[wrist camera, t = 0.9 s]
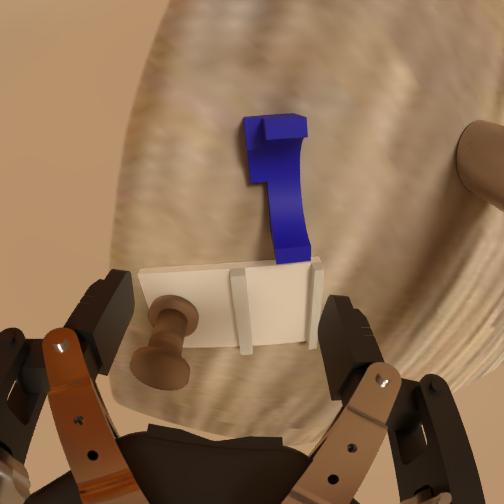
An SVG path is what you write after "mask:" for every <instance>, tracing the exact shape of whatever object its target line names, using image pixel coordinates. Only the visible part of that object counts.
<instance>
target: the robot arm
mask: <svg viewBox="0 0 504 504" xmlns="http://www.w3.org/2000/svg"><path fill="white" fill-rule="evenodd" d="M457 169H458V173H459V177H460V179H461V181H462V183H463V184H464V186H465V187H466V188H467V189H469V190H470V191H471V192H473V193H475V194H476V195H478V196H480V197H481V198H483V199H484V200H486V201H487V202H489V203H490V204H492V205H493V206H495V207H496V208H498V209H499V210H501V211H502V212H504V126H502V125H498V124H495V123H491V122H487V121H483V120H480V121H475V122H473V123H472V124H470V125H469V126H468V127H467V128H466V130H465V131H464V132H463V134H462V136H461V138H460V142H459V145H458V150H457ZM134 305H135V302H134V294H133V286H132V277H131V273H130V272H129V271H124V270H117V269H112V270H111V271H110V272H109V274H108V275H107V276H106V278H105V280H101V279H99V280H98V281H96V282H95V283H93V284H92V285H91V286H90V287H89V289H88V290H87V291H86V293H85V294H84V296H83V297H82V299H81V300H80V303H78V305H77V306H76V308H75V309H74V311H73V313H72V314H71V316H70V317H69V319H68V321H67V322H66V324H65V325H64V327H62V328H56V329H53V330H51V331H50V332H49V333H47V334H46V336H45V337H44V339H26V338H25V336H24V334H23V332H22V331H21V330H19V329H17V328H8V329H5V330H3V331H2V332H0V504H360V503H359V502H357V501H356V500H355V499H354V498H353V497H354V495H355V494H356V492H357V490H358V488H359V487H360V485H361V483H362V481H363V480H364V478H365V476H366V474H367V472H368V470H369V468H370V466H371V465H372V463H373V460H374V459H375V457H376V455H377V452H378V450H379V448H380V446H381V444H382V442H383V440H384V437H385V435H386V433H387V431H388V436H389V441H390V445H391V450H392V455H393V461H394V466H395V471H396V478H397V483H398V490H399V496H400V504H485V499H484V495H483V490H482V486H481V482H480V478H479V474H478V470H477V467H476V463H475V460H474V456H473V453H472V450H471V447H470V444H469V440H468V437H467V434H466V431H465V428H464V426H463V423H462V420H461V417H460V415H459V412H458V409H457V406H456V404H455V401H454V399H453V396H452V394H451V391H450V389H449V386H448V384H447V383H446V381H445V380H444V379H443V378H441V377H440V376H438V375H435V374H427V375H425V376H424V377H423V378H422V379H421V380H420V381H419V382H417V381H412V380H407V379H403V378H401V376H400V374H399V372H398V371H397V370H396V369H395V368H394V367H393V366H391V365H389V364H387V363H385V362H384V360H383V357H382V355H381V352H380V350H379V347H378V345H377V342H376V340H375V337H374V336H373V332H372V330H371V329H370V325H369V323H368V321H367V318H366V317H365V316H364V315H363V314H362V312H361V311H360V310H359V309H354V308H353V306H352V303H351V301H350V299H349V297H348V296H340V295H330V296H329V297H328V299H327V302H326V304H325V307H324V310H323V313H322V315H321V318H320V321H319V324H318V340H319V344H320V348H321V353H322V357H323V362H324V366H325V371H326V376H327V380H328V385H329V390H330V395H331V400H332V401H333V400H342V404H343V406H342V407H341V409H340V410H339V412H338V414H337V415H336V417H335V418H334V420H333V421H332V423H331V425H330V426H329V428H328V429H327V431H326V432H325V434H324V435H323V437H322V438H321V440H320V441H319V442H318V444H317V445H316V446H315V448H314V449H313V450H312V452H311V453H310V454H309V455H308V456H307V455H305V454H304V453H302V452H300V451H298V450H296V449H293V448H290V447H287V446H283V443H282V437H252V436H249V437H243V438H236V439H230V440H222V441H212V440H209V439H205V438H203V437H200V436H197V435H195V434H192V433H189V432H186V431H184V430H181V429H176V428H170V427H164V426H159V425H153V424H149V425H148V430H147V431H143V432H135V433H131V434H127V435H125V436H122V437H120V436H119V434H118V432H117V430H116V428H115V427H114V425H113V422H112V420H111V418H110V416H109V414H108V412H107V409H106V407H105V404H104V402H103V399H102V397H101V395H100V392H99V390H98V387H97V384H96V382H95V380H96V377H97V375H98V374H102V375H106V376H107V375H108V373H109V371H110V368H111V366H112V363H113V361H114V358H115V356H116V353H117V351H118V348H119V346H120V344H121V341H122V339H123V336H124V334H125V332H126V329H127V327H128V325H129V323H130V320H131V318H132V316H133V312H134ZM14 381H16V382H15V385H14V387H13V389H12V391H11V393H10V396H9V398H8V394H9V392H10V390H11V388H12V385H13V384H14ZM47 395H48V400H49V404H50V408H51V411H52V415H53V419H54V422H55V425H56V429H57V432H58V435H59V438H60V441H61V444H62V447H63V450H64V453H65V455H66V458H67V461H68V463H69V466H70V469H71V470H70V471H68V472H67V473H65V474H64V475H62V476H61V477H59V478H57V479H56V480H54V481H52V482H51V483H49V484H47V485H46V486H44V487H43V488H41V489H39V490H38V491H36V492H34V493H32V494H30V492H29V488H30V481H29V476H28V472H27V470H26V468H25V467H24V463H25V459H26V455H27V452H28V448H29V445H30V442H31V439H32V436H33V433H34V430H35V427H36V423H37V421H38V418H39V415H40V412H41V409H42V407H43V404H44V401H45V399H46V396H47ZM7 398H8V400H7ZM421 425H423V428H424V431H425V435H426V438H427V445H426V441H425V438H424V434H423V430H422V427H421Z"/></svg>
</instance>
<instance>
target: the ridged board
mask: <svg viewBox="0 0 504 504" xmlns="http://www.w3.org/2000/svg"><path fill="white" fill-rule="evenodd" d="M137 275H138V278H139V281H140V284H141V287H142V290H143V293H144V296H145V299H146V302H147V305H148V308H149V309H150V306H151V304H152V302H153V301H154V300H155V299H156V298H158V297H160V296H163V295H176V296H180V297H183V298H185V299H187V300H188V301H190V302H191V303H192V304H193V305H194V306H195V308H196V309H197V311H198V315H199V320H198V325H197V328H196V330H195V331H194V332H193V333H192V334H191V335H189V336H186V337H185V338H184V343H183V348H207V347H236V346H240V351H241V355H249V354H253V346H254V345H269V344H282V343H293V342H304V341H307V344H308V349H309V350H310V349H316V348H317V339H318V324H319V321H320V313H321V302H322V292H323V280H324V268H323V266H322V263H321V261H320V258H319V256H317V257H311V261H307V262H297V263H287V264H277V265H276V259H275V260H261V261H247V262H232V263H217V264H201V265H186V266H170V267H154V268H140V270H139V272H138V274H137Z"/></svg>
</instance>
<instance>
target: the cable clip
mask: <svg viewBox="0 0 504 504" xmlns="http://www.w3.org/2000/svg"><path fill="white" fill-rule="evenodd" d="M244 127H245V136H246V146H247V154H248V163H249V172H250V181H251V183H259V182H267V191H268V203H269V215H270V227H271V237H272V242H273V248H274V253H275V259H276V265H277V264H287V263H297V262H307V261H311V244H310V242H309V238H308V234H307V230H306V225H305V220H304V214H303V206H302V198H301V186H300V151H301V144H302V141H303V139H304V137H308V133H307V118H306V117H304V116H301V115H297V114H294V113H291V114H274V115H262V116H251V117H244Z"/></svg>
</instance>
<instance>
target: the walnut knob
mask: <svg viewBox="0 0 504 504" xmlns="http://www.w3.org/2000/svg"><path fill="white" fill-rule="evenodd" d="M148 318H149V321H150V323H151V325H152V326H153V327H154V329H153V332H152V335H151V339H150V342H149V345H148V347H143V348H140V349H138V350H137V351H135V353H134V354H133V357H132V360H131V363H130V369H131V372H132V373H133V375H134V376H135V377H136V378H137V379H138V380H139V381H141V382H142V383H144V384H146V385H148V386H150V387H153V388H156V389H160V390H177V389H180V388H183V387H184V386H186V385H187V383H188V381H189V375H190V367H189V365H188V363H187V362H186V361H185V359H183V358H182V357H181V353H182V348H183V343H184V338H185V337H186V336H189V335H191V334H192V333H193V332H194V331H195V330H196V328H197V325H198V320H199V315H198V311H197V309H196V308H195V306H194V305H193V304H192V303H191V302H190V301H188V300H187V299H185V298H183V297H180V296H176V295H163V296H160V297H158V298H156V299H155V300H154V301H153V302H152V304H151V306H150V309H149V312H148Z"/></svg>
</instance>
